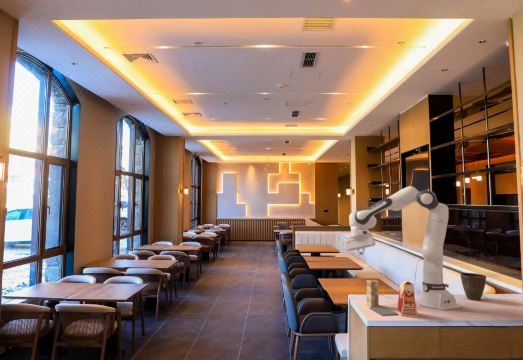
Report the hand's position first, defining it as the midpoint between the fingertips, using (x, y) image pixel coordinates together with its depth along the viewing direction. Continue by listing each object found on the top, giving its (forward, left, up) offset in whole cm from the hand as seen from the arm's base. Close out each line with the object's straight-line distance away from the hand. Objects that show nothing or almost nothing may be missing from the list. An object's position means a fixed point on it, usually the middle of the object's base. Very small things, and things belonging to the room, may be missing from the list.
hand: (361, 254), depth 229 cm
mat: (+1, +27, -29) cm, 39 cm away
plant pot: (-75, +12, -29) cm, 81 cm away
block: (+1, +15, -29) cm, 32 cm away
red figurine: (-10, +33, -29) cm, 45 cm away
